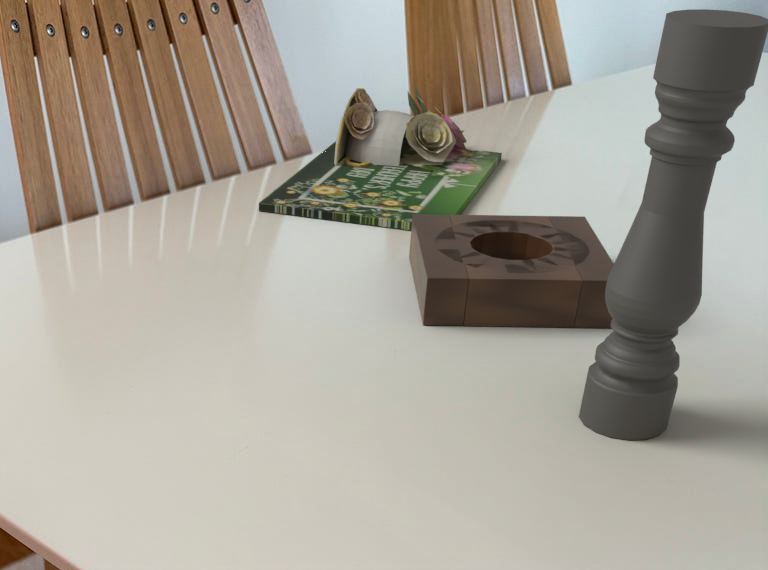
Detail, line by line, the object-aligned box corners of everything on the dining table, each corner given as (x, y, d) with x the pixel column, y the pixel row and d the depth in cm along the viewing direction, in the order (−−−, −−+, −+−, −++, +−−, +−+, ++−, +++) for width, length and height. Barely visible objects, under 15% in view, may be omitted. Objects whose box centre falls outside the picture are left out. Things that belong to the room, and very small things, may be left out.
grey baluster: (613, 391, 78) (701, 5, 62) (684, 422, 74) (797, 20, 58) (560, 415, 75) (638, 15, 59) (632, 449, 71) (735, 32, 55)
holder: (576, 259, 99) (584, 216, 97) (614, 328, 87) (624, 281, 84) (408, 257, 99) (412, 213, 97) (422, 325, 87) (427, 278, 85)
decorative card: (355, 66, 128) (517, 81, 123) (352, 134, 133) (507, 150, 128) (258, 131, 105) (453, 152, 99) (258, 210, 109) (445, 234, 104)
